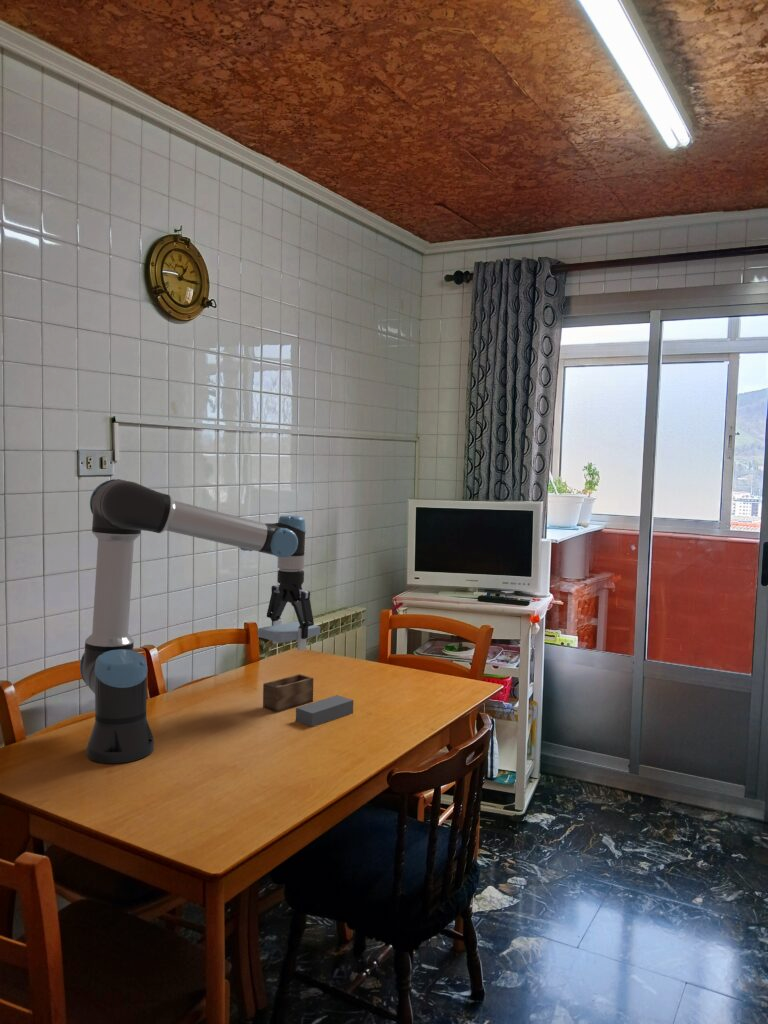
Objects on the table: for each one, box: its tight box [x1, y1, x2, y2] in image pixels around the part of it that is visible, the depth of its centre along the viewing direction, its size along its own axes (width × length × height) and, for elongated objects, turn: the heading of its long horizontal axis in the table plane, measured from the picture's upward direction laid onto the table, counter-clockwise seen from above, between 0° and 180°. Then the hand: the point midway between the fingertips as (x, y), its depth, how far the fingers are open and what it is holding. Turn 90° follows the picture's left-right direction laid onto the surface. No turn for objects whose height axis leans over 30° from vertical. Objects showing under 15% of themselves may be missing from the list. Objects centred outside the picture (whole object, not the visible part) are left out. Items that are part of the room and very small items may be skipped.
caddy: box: [262, 673, 314, 713], centre depth 220 cm, size 14×6×7 cm, turn 139°
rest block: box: [295, 694, 354, 728], centre depth 210 cm, size 16×6×4 cm, turn 139°
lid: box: [257, 620, 321, 644], centre depth 219 cm, size 15×10×2 cm, turn 139°
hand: (289, 646), depth 219 cm, fingers closed on lid, 10 cm apart
